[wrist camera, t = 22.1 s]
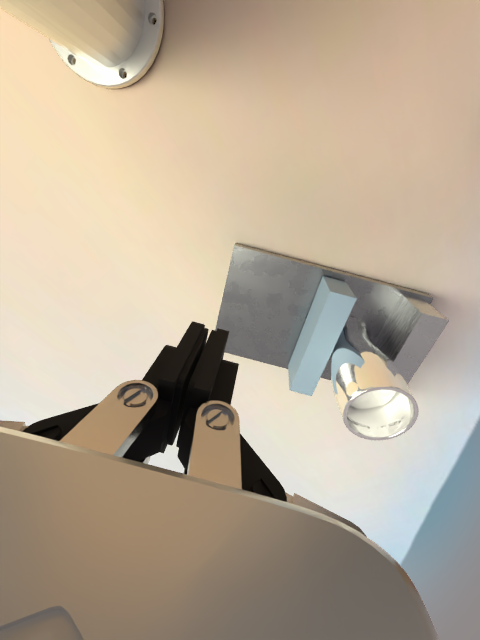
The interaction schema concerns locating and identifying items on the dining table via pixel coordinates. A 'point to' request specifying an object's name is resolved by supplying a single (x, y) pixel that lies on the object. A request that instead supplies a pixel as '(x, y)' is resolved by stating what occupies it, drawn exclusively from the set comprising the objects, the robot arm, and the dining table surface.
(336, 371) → the beer glass
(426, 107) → the dining table surface
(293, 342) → the vise base
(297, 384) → the bar
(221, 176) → the dining table surface
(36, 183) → the dining table surface
